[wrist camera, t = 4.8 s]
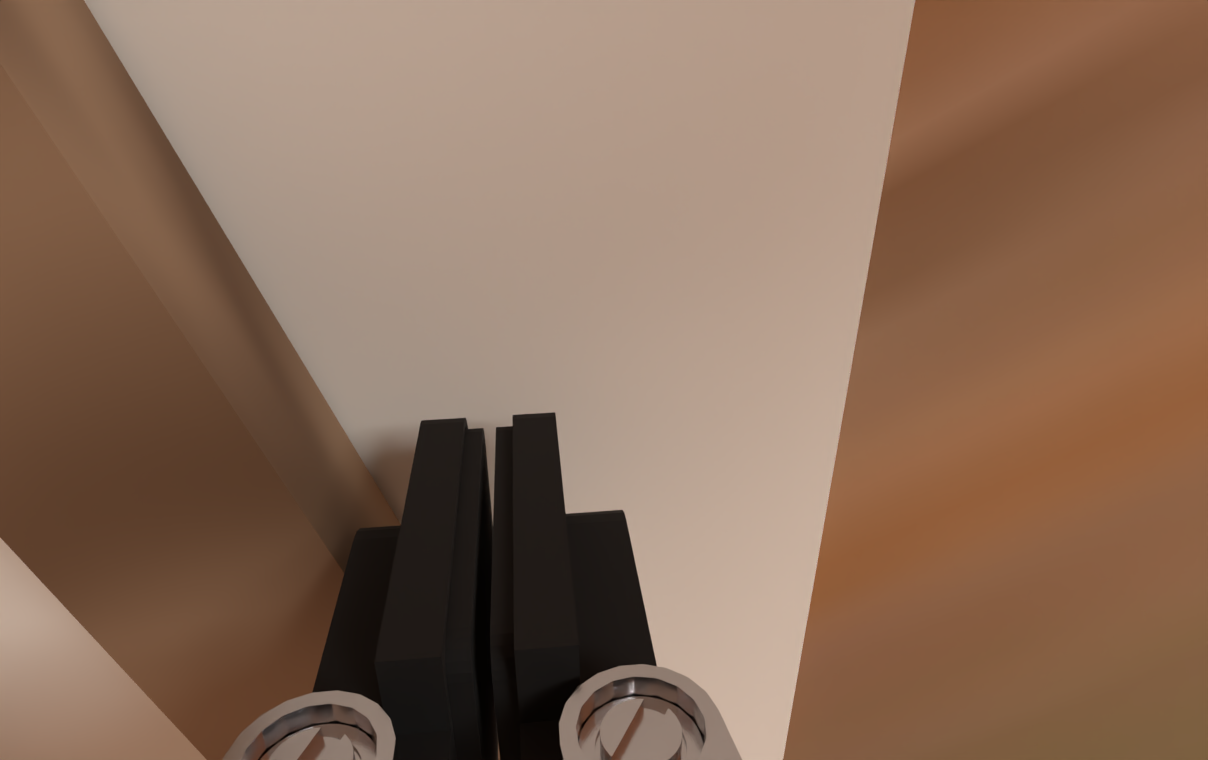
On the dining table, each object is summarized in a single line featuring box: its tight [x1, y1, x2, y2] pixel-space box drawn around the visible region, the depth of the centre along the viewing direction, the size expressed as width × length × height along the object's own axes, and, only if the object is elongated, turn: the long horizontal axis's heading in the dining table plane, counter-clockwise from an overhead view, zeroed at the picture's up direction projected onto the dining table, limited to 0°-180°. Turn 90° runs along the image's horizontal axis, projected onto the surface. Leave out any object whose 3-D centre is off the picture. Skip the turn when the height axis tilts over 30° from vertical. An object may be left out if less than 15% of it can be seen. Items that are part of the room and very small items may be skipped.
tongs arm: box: [0, 0, 500, 760], centre depth 9 cm, size 22×3×2 cm, turn 19°
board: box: [0, 0, 915, 760], centre depth 10 cm, size 27×20×1 cm
